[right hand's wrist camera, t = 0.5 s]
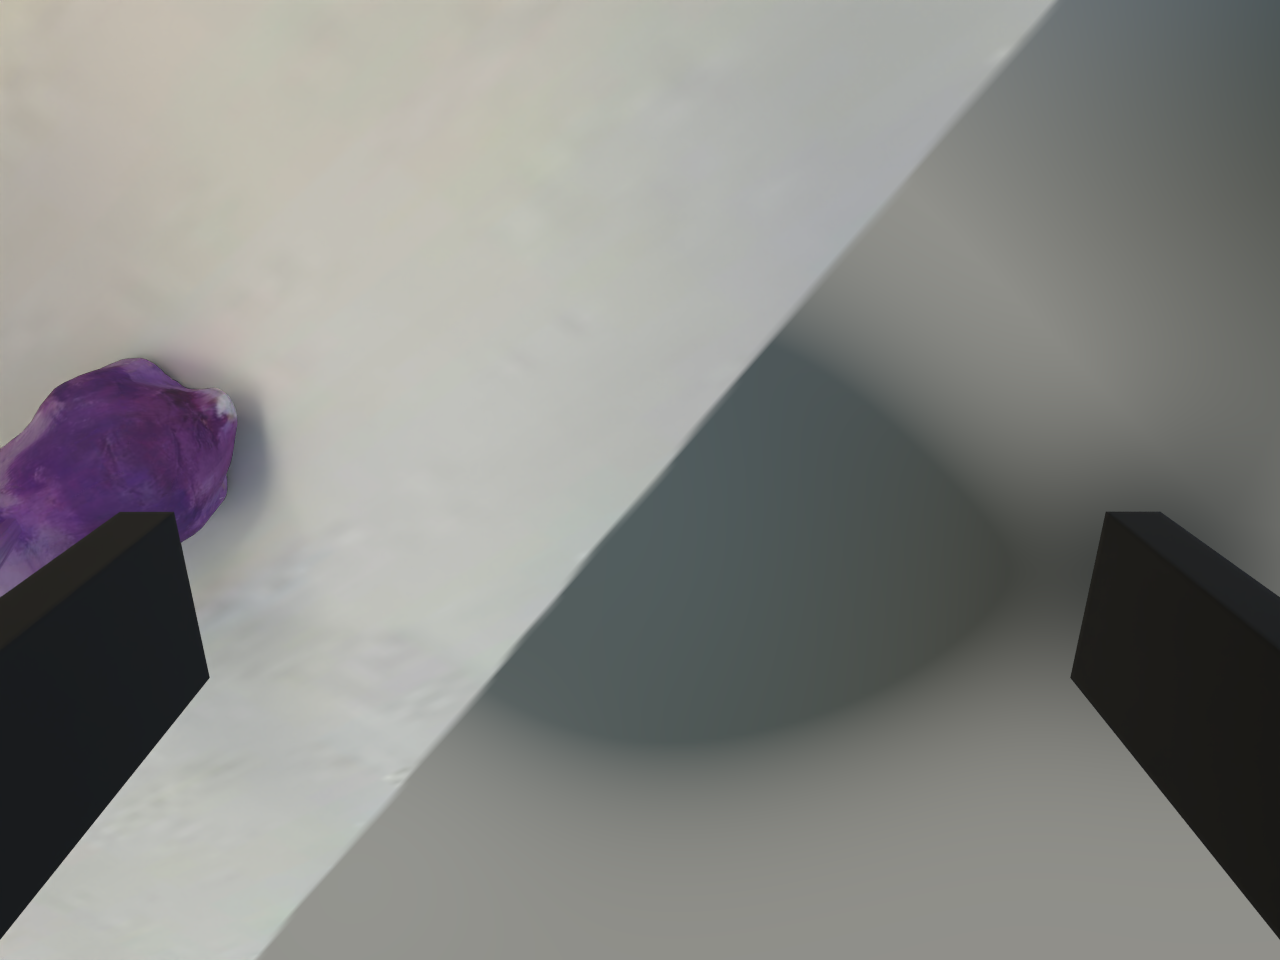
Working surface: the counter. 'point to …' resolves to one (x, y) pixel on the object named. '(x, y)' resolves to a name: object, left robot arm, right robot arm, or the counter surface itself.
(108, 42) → the counter surface
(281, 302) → the counter surface
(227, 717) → the counter surface
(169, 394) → the figurine
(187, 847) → the counter surface
